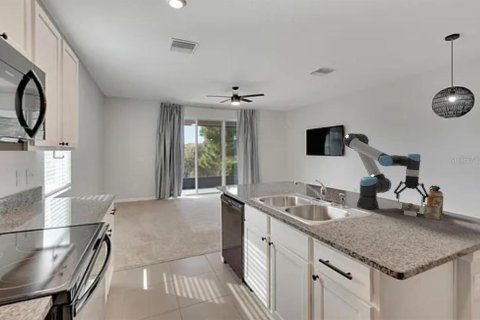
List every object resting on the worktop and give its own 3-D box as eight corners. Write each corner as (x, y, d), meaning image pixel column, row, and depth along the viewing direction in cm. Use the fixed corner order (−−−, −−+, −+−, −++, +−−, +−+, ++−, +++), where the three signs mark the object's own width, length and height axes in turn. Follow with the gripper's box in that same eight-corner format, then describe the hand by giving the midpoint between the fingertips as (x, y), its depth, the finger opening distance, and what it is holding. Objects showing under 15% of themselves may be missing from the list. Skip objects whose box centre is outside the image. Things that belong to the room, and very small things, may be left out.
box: (424, 217, 160) (425, 207, 160) (423, 213, 169) (424, 204, 169) (440, 219, 156) (440, 209, 155) (438, 215, 165) (439, 205, 164)
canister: (429, 214, 168) (431, 186, 167) (422, 210, 179) (424, 183, 178) (445, 215, 166) (446, 187, 164) (437, 211, 176) (438, 184, 175)
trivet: (403, 214, 166) (404, 210, 166) (404, 210, 177) (404, 206, 177) (416, 216, 162) (416, 212, 162) (415, 212, 173) (416, 208, 173)
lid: (401, 210, 167) (401, 204, 167) (402, 206, 177) (402, 200, 177) (419, 212, 161) (419, 206, 161) (418, 208, 172) (419, 202, 171)
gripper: (391, 174, 172) (388, 203, 174) (435, 178, 158) (432, 209, 159) (391, 173, 178) (389, 201, 180) (434, 176, 164) (431, 207, 165)
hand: (409, 205), depth 170 cm, fingers open, 13 cm apart
